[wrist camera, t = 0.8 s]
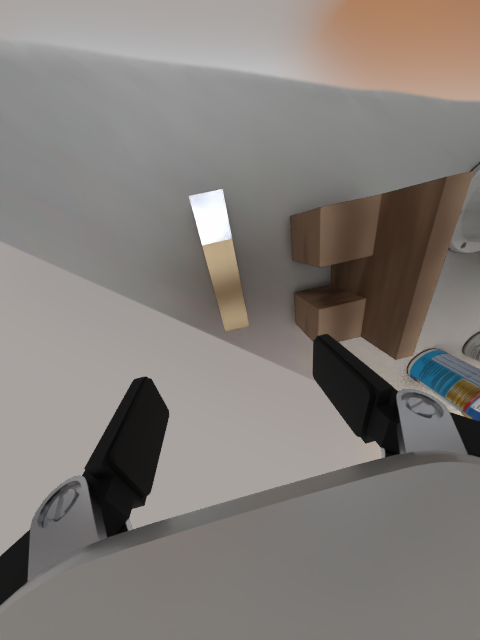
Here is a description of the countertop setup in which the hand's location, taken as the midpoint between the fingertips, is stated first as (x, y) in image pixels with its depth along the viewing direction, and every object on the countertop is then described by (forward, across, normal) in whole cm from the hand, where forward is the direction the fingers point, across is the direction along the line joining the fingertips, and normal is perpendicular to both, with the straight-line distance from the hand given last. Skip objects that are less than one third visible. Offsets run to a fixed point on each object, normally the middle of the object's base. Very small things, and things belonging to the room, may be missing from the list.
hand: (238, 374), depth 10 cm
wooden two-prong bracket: (+17, -15, 0) cm, 23 cm away
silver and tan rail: (+17, -1, -4) cm, 18 cm away
